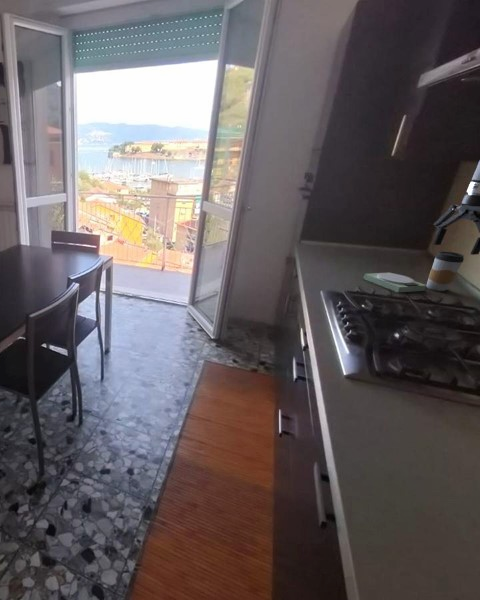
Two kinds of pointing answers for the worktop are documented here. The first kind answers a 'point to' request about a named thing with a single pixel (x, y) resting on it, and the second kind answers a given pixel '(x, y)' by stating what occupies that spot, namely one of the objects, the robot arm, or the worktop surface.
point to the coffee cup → (444, 270)
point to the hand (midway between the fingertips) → (454, 249)
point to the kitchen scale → (395, 282)
